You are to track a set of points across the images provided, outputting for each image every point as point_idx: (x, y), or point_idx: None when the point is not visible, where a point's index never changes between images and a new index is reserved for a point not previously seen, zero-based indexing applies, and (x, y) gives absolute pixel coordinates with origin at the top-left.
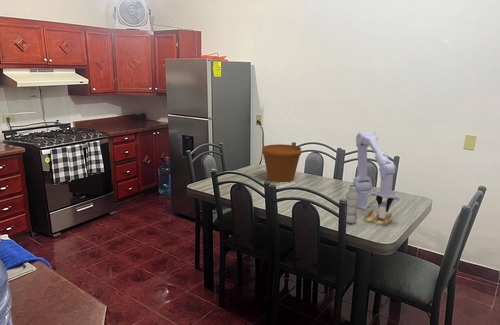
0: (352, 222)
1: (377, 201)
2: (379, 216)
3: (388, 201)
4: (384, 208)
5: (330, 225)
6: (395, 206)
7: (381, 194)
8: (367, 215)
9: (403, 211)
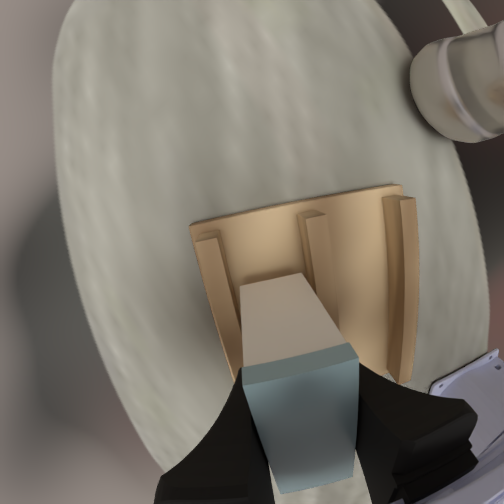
0: (415, 57)
1: (420, 397)
2: (294, 278)
3: (212, 480)
4: (258, 351)
5: (455, 4)
6: (304, 497)
7: None
8: (400, 234)
9: None
